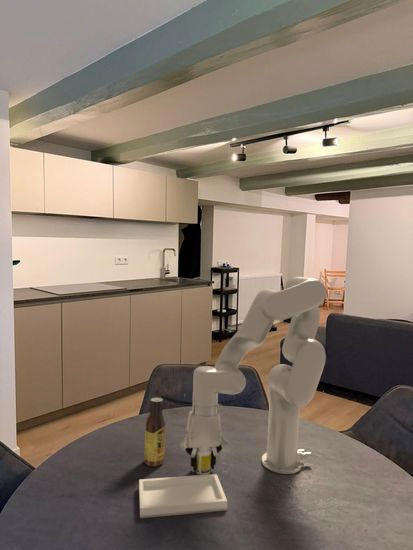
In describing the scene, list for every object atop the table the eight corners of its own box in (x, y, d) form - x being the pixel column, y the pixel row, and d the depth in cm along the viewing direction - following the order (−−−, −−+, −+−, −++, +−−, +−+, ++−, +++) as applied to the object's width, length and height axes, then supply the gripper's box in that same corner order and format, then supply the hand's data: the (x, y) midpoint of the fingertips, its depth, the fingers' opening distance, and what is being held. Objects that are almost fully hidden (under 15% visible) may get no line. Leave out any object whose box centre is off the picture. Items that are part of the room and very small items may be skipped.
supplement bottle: (213, 469, 117) (214, 442, 117) (206, 477, 113) (207, 449, 113) (199, 465, 119) (200, 438, 119) (192, 472, 115) (193, 445, 115)
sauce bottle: (160, 469, 116) (162, 404, 116) (140, 466, 118) (143, 402, 117) (166, 458, 123) (169, 397, 122) (148, 455, 124) (150, 395, 123)
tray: (216, 482, 110) (216, 473, 110) (226, 510, 98) (227, 500, 98) (138, 488, 106) (139, 479, 106) (140, 518, 94) (140, 508, 94)
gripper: (229, 402, 121) (227, 459, 121) (175, 405, 117) (173, 463, 118) (235, 412, 113) (233, 472, 114) (178, 414, 110) (176, 476, 111)
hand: (203, 467), depth 116 cm, fingers closed on supplement bottle, 4 cm apart
